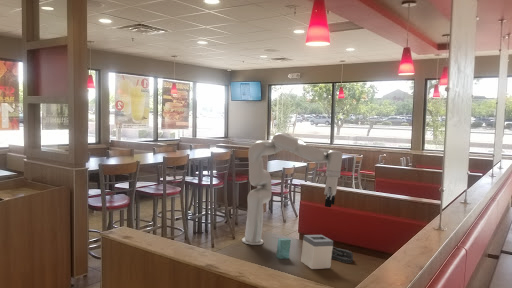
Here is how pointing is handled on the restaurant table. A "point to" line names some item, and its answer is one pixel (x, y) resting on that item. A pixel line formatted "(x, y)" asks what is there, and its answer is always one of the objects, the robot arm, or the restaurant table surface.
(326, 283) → the restaurant table surface
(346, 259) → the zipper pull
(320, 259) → the white slotted box
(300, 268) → the restaurant table surface
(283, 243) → the teal block
